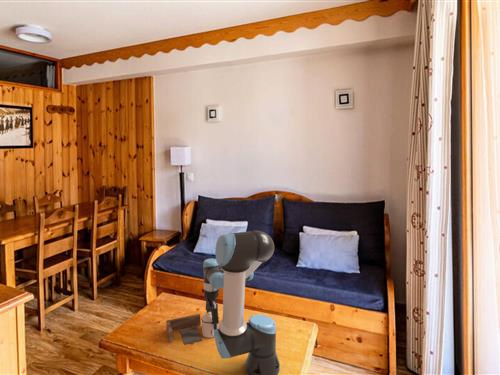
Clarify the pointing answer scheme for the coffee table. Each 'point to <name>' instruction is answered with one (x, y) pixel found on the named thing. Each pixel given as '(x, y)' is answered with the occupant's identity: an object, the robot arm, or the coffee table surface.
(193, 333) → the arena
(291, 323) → the coffee table surface
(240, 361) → the coffee table surface
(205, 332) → the teacup with lid
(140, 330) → the coffee table surface
